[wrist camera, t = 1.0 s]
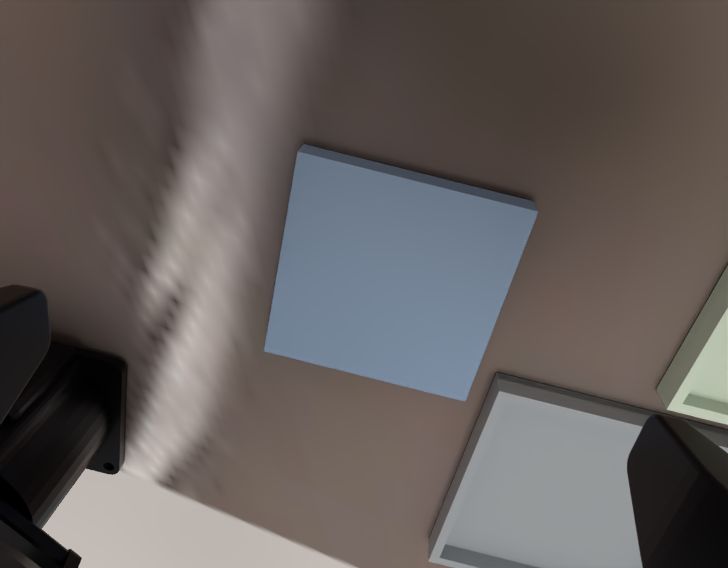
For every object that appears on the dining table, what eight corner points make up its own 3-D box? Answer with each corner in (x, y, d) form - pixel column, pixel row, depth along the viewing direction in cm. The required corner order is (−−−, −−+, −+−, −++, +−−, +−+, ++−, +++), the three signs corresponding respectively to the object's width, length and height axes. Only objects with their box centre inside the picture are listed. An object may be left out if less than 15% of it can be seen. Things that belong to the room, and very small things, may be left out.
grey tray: (634, 590, 28) (642, 614, 27) (428, 539, 28) (428, 561, 27) (743, 433, 23) (758, 455, 22) (496, 372, 23) (499, 391, 22)
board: (464, 385, 24) (465, 401, 23) (270, 337, 24) (263, 351, 23) (533, 201, 20) (538, 212, 19) (303, 143, 20) (297, 151, 19)
